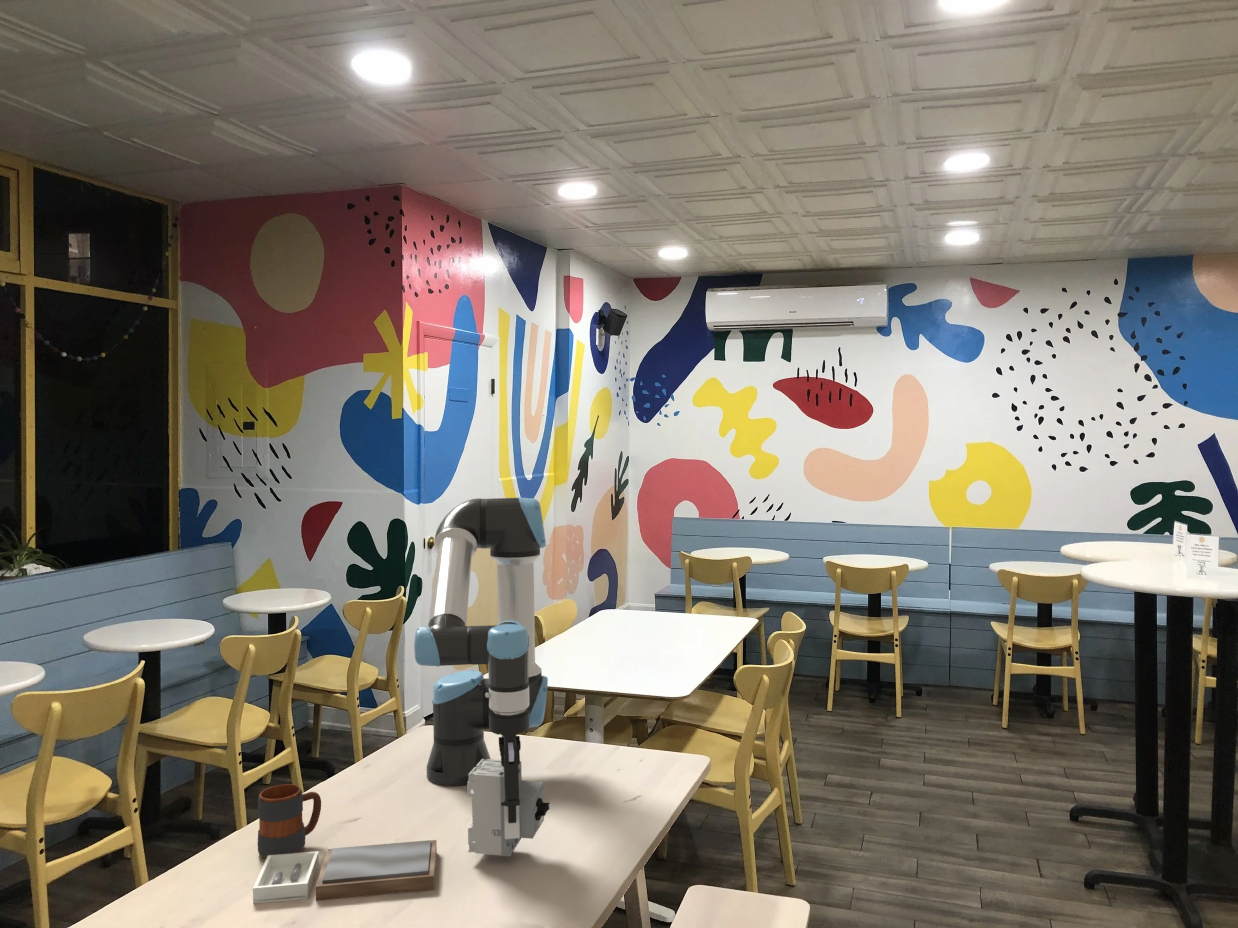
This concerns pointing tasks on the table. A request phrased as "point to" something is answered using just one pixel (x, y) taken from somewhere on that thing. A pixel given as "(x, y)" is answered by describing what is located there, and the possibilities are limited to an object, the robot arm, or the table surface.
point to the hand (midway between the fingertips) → (510, 825)
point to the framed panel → (377, 870)
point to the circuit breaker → (501, 809)
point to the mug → (284, 819)
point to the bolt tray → (286, 877)
